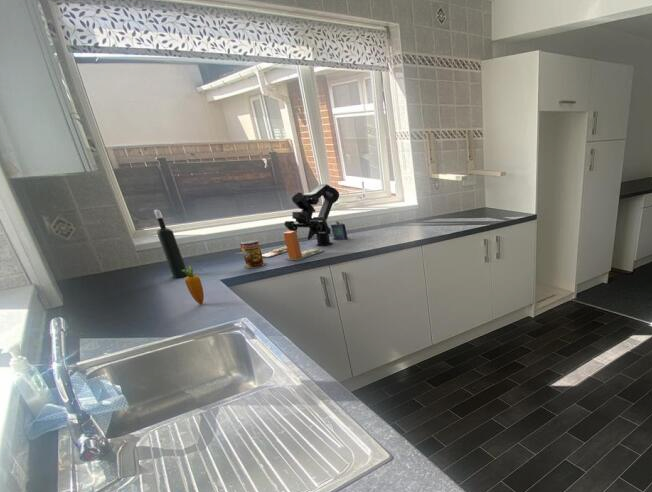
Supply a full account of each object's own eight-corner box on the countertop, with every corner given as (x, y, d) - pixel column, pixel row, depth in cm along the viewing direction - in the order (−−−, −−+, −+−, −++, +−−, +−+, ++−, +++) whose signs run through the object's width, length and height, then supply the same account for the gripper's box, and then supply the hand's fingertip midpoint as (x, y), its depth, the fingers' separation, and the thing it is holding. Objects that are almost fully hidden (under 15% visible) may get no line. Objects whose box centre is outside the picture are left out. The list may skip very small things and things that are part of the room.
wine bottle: (186, 276, 195) (162, 210, 182) (172, 278, 193) (146, 211, 180) (189, 273, 200) (166, 208, 187) (175, 275, 198) (150, 209, 185)
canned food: (249, 268, 204) (241, 244, 199) (245, 265, 210) (237, 241, 205) (266, 265, 209) (259, 241, 204) (262, 262, 214) (255, 238, 209)
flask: (332, 239, 259) (328, 221, 254) (334, 238, 262) (331, 220, 257) (346, 239, 258) (343, 221, 253) (348, 238, 261) (345, 220, 256)
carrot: (197, 307, 158) (183, 269, 152) (191, 305, 161) (177, 267, 154) (211, 303, 162) (198, 265, 155) (204, 301, 164) (191, 264, 158)
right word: (313, 250, 234) (312, 247, 233) (323, 251, 232) (322, 248, 231) (286, 259, 218) (286, 256, 218) (297, 260, 216) (296, 257, 215)
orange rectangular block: (294, 255, 222) (288, 230, 216) (301, 255, 221) (296, 230, 216) (289, 258, 217) (283, 232, 212) (296, 258, 217) (290, 232, 211)
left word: (286, 248, 241) (285, 245, 240) (295, 248, 239) (295, 246, 238) (258, 256, 225) (257, 253, 224) (268, 257, 223) (267, 254, 222)
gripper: (281, 205, 221) (274, 231, 216) (314, 205, 219) (308, 231, 214) (293, 217, 232) (287, 242, 227) (325, 217, 229) (319, 242, 224)
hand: (300, 239), depth 223 cm, fingers open, 9 cm apart
